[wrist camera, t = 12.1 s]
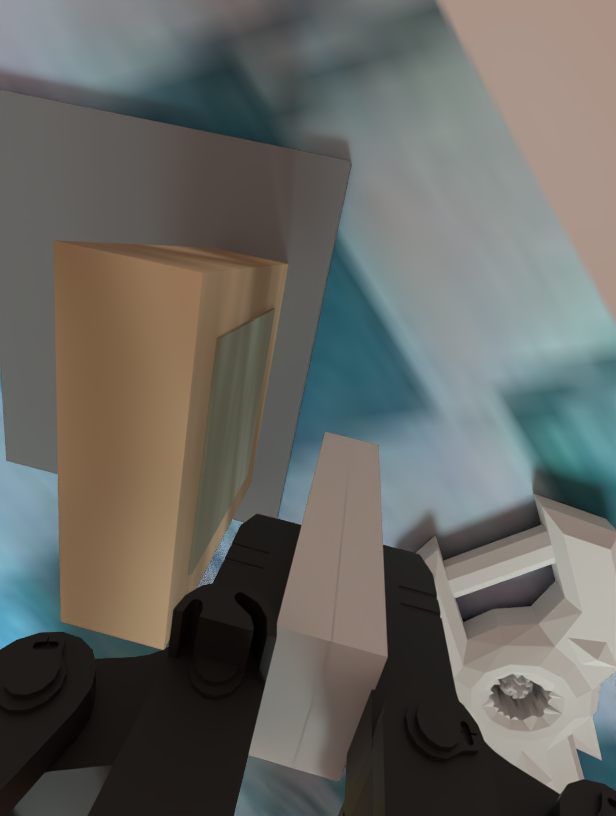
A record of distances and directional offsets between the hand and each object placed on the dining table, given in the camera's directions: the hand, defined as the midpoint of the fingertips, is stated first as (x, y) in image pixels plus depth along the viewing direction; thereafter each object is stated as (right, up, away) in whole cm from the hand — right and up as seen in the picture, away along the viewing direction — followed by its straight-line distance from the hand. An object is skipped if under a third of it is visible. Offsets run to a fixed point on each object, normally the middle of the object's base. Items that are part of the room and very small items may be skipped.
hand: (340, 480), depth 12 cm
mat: (-8, +5, +7) cm, 12 cm away
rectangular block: (-4, +3, +6) cm, 8 cm away
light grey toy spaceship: (+10, -10, +10) cm, 18 cm away
